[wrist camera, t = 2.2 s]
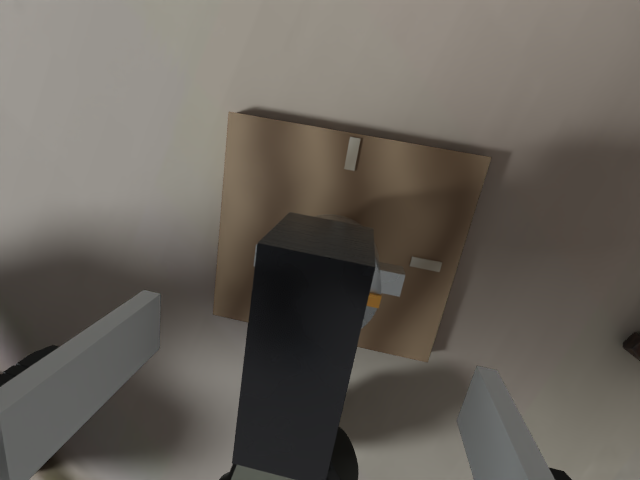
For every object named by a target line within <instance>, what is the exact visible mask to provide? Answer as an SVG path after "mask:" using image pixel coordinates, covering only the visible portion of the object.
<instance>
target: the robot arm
mask: <svg viewBox="0 0 640 480" xmlns="http://www.w3.org/2000/svg"><path fill="white" fill-rule="evenodd" d="M160 303H161V294H160V293H156V292H151V291H147V290H143V291H141V292H140V293H138V294H137V295H135V296H134V297H132V298H131V299H130V300H128V301H127V302H125V303H124V304H122V305H121V306H119V307H118V308H116V309H115V310H113V311H112V312H110V313H109V314H107V315H106V316H104V317H103V318H101V319H100V320H98V321H97V322H95V323H94V324H93V325H91V326H90V327H88V328H87V329H85V330H84V331H82V332H81V333H79V334H78V335H76V336H75V337H73V338H72V339H70V340H69V341H67V342H66V343H64V344H63V345H61V346H60V347H58V346H54V345H52V346H49V347H47V348H44V349H42V350H39V351H36V352H34V353H32V354H30V355H29V356H27V357H26V358H24V359H23V360H21V361H20V362H18V363H17V364H16V366H14V365H13V366H12V367H10V368H9V369H7V370H6V371H4V372H3V374H2V375H0V480H29V479H30V478H31V477H32V476H33V475H34V474H35V473H36V472H37V471H38V470H39V469H40V468H41V467H42V466H43V465H44V464H45V463H46V462H47V461H48V460H49V459H50V458H51V457H52V456H53V455H54V454H55V453H56V452H57V451H58V450H59V449H60V448H61V447H62V446H63V445H64V444H65V443H66V442H67V441H68V440H69V439H70V438H71V437H72V436H73V435H74V434H75V433H76V432H77V431H78V430H79V429H80V428H81V427H82V426H83V425H84V424H85V423H86V422H87V421H88V420H89V419H90V418H91V417H92V416H93V415H94V414H95V413H96V412H97V411H98V410H99V409H100V408H101V407H102V406H103V405H104V404H105V403H106V402H107V401H108V400H109V399H110V398H111V397H112V396H113V395H114V394H115V393H116V392H117V391H118V390H119V389H120V388H121V387H122V386H123V385H124V384H125V383H126V382H127V381H128V380H129V379H130V378H131V377H132V376H133V375H134V374H135V373H136V372H137V371H138V370H139V369H140V368H141V367H142V366H143V365H144V364H145V363H146V362H147V361H148V360H149V359H150V358H151V357H152V356H153V355H154V354H155V353H156V352H157V351H158V350H159V349H160ZM457 424H458V427H459V430H460V434H461V437H462V441H463V444H464V447H465V451H466V454H467V458H468V461H469V464H470V468H471V471H472V475H473V478H474V480H571V478H570V477H569V476H568V475H567V474H566V473H565V472H564V471H561V470H557V469H553V468H549V467H548V465H547V464H546V462H545V460H544V458H543V456H542V454H541V452H540V450H539V448H538V447H537V445H536V443H535V441H534V439H533V437H532V435H531V433H530V431H529V430H528V428H527V426H526V424H525V422H524V420H523V418H522V416H521V414H520V413H519V411H518V409H517V407H516V405H515V403H514V401H513V399H512V397H511V396H510V394H509V392H508V390H507V388H506V386H505V384H504V382H503V380H502V378H501V377H500V375H499V373H498V371H497V370H494V369H490V368H485V367H481V366H477V367H476V369H475V372H474V375H473V378H472V380H471V383H470V386H469V388H468V391H467V394H466V396H465V399H464V402H463V405H462V407H461V410H460V413H459V415H458V418H457Z"/></svg>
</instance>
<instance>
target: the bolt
mask: <svg viewBox="0 0 640 480" xmlns="http://www.w3.org/2000/svg"><path fill="white" fill-rule="evenodd" d="M623 348H624V349H625V350H627V351H628V352H629V353H630V354H632V355H633V356H634V357H635V358H637V359H638V360H639V361H640V336H639V335H638V334H636V333H633V334H632V335H631V336H630V337H629V338H628V339H626V340H625V341H624V342H623Z"/></svg>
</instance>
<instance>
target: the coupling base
mask: <svg viewBox="0 0 640 480" xmlns="http://www.w3.org/2000/svg"><path fill="white" fill-rule="evenodd" d="M491 158H492V157H487V156H482V155H476V154H470V153H464V152H459V151H453V150H447V149H441V148H436V147H430V146H424V145H418V144H413V143H407V142H401V141H395V140H390V139H384V138H378V137H372V136H367V135H361V134H355V133H349V132H344V131H338V130H332V129H326V128H321V127H315V126H309V125H303V124H298V123H292V122H286V121H280V120H275V119H269V118H263V117H257V116H252V115H246V114H240V113H234V112H229V114H228V127H227V139H226V152H225V165H224V178H223V191H222V203H221V216H220V229H219V242H218V255H217V268H216V280H215V293H214V306H213V315H217V316H222V317H226V318H231V319H235V320H240V321H244V322H248V321H249V312H250V304H251V295H252V286H253V278H254V269H255V266H254V257H255V249H256V244H257V243H258V242H259V241H260V240H261V239H262V238H263V237H264V236H265V235H266V234H267V233H268V232H269V231H270V230H272V229H273V228H274V227H275V226H276V225H277V224H278V223H279V222H280V221H281V220H282V219H283V218H284V217H285V216H286V215H287V214H288V213H289V212H293V213H298V214H303V215H308V216H313V217H314V216H318V215H324V214H334V215H341V216H344V217H347V218H350V219H352V220H354V221H355V222H357V223H359V224H360V225H361V226H365V227H370V228H373V230H374V242H375V244H376V247H377V250H378V255H379V262H384V263H388V264H393V265H398V266H403V268H404V272H405V279H404V282H403V286H402V290H401V294H400V297H398V296H393V295H389V294H384V293H381V295H382V297H381V301H380V305H379V308H377V310H376V312H375V314H374V316H373V317H372V319H371V320H370V321H369V322H368V323H367V324H366V325H365V326H364V327H363V328H362V329H361V332H360V336H359V340H358V345H357V347H361V348H365V349H370V350H374V351H379V352H383V353H388V354H392V355H397V356H401V357H406V358H410V359H414V360H419V361H423V362H428V360H429V356H430V353H431V350H432V347H433V344H434V340H435V337H436V334H437V331H438V328H439V324H440V321H441V318H442V315H443V312H444V308H445V305H446V302H447V299H448V296H449V292H450V289H451V286H452V283H453V280H454V276H455V273H456V270H457V267H458V264H459V260H460V257H461V254H462V251H463V248H464V244H465V241H466V238H467V235H468V231H469V228H470V225H471V222H472V219H473V215H474V212H475V209H476V206H477V203H478V199H479V196H480V193H481V190H482V187H483V183H484V180H485V177H486V174H487V171H488V167H489V164H490V161H491Z"/></svg>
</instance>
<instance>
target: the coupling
mask: <svg viewBox="0 0 640 480" xmlns="http://www.w3.org/2000/svg"><path fill="white" fill-rule="evenodd" d="M254 266H255V269H254V278H253V286H252V295H251V304H250V312H249V321H248V330H247V338H246V347H245V356H244V364H243V373H242V382H241V391H240V399H239V408H238V417H237V425H236V434H235V443H234V451H233V460H232V464H236V465H240V466H244V467H248V468H252V469H256V470H259V471H263V472H267V473H271V474H275V475H279V476H283V477H287V478H291V479H294V480H326V478H327V474H328V469H329V465H330V461H331V456H332V452H333V448H334V444H335V439H336V435H337V431H338V426H339V422H340V418H341V413H342V409H343V405H344V401H345V396H346V392H347V388H348V383H349V379H350V375H351V370H352V366H353V362H354V358H355V353H356V349H357V345H358V340H359V336H360V332H361V329H362V328H363V327H364V326H365V325H366V324H367V323H368V322H369V321H370V320H371V319H372V317H373V316H374V314H375V312H376V310H377V308H379V305H380V301H381V297H382V295H381V293H384V294H389V295H393V296H398V297H400V294H401V290H402V286H403V282H404V279H405V272H404V268H403V266H398V265H393V264H388V263H384V262H379V255H378V250H377V247H376V244H375V242H374V230H373V228H370V227H365V226H361V225H360V224H359V223H357V222H355V221H354V220H352V219H350V218H347V217H344V216H341V215H334V214H324V215H318V216H314V217H313V216H308V215H303V214H298V213H293V212H289V213H288V214H287V215H286V216H285V217H284V218H283V219H282V220H281V221H280V222H279V223H278V224H277V225H276V226H275V227H274V228H273V229H272V230H270V231H269V232H268V233H267V234H266V235H265V236H264V237H263V238H262V239H261V240H260V241H259V242H258V243H257V244H256V249H255V257H254Z"/></svg>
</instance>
